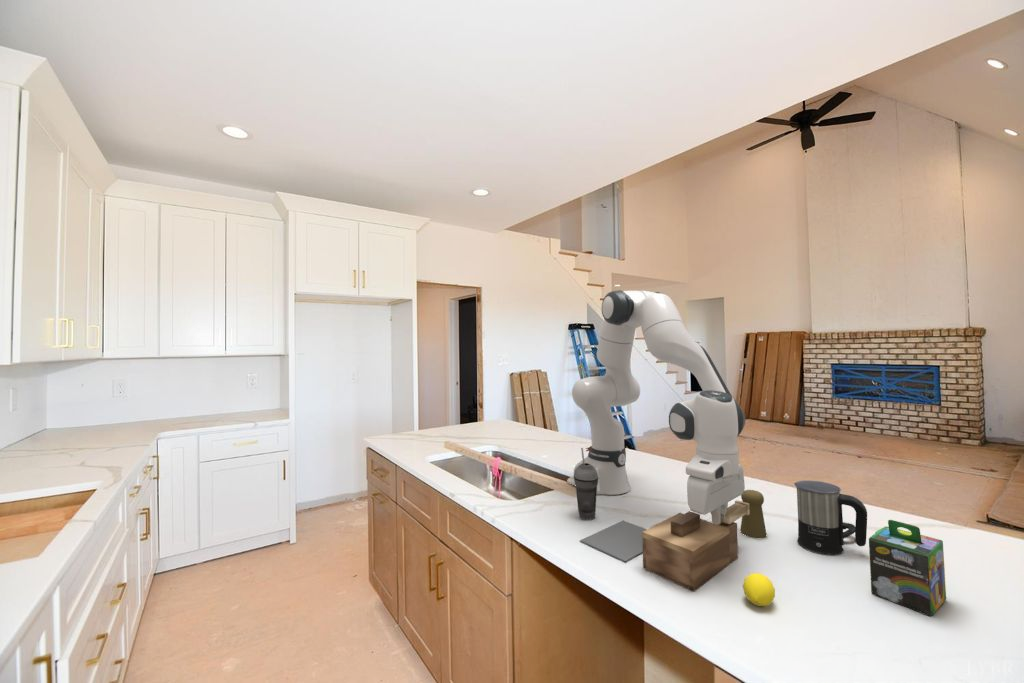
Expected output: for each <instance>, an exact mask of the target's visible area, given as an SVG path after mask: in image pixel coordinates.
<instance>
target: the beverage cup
mask: <svg viewBox="0 0 1024 683" xmlns="http://www.w3.org/2000/svg"><path fill="white" fill-rule="evenodd" d="M580 450H581V458H582V460H583V464H580V465H579V466H578V467H577V468H576V470H575V472H574V471H573V476H574V477H573V478H574V481H575V485H576V487H575V493H576V500H577V508H578V509H577V511H578V517H579V519H581V520H583V521H591V520H595V518H596V512H597V511H596V510H597V509H596V507H597V496H598V494H597V485H598V479H599V478H598V473H597V471H596V469H595V468H594V466H592V465H591V464H588V463H585V461H584V459H585V454H584V447H581V448H580Z"/></svg>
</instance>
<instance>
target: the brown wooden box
mask: <svg viewBox="0 0 1024 683" xmlns="http://www.w3.org/2000/svg"><path fill="white" fill-rule="evenodd" d="M719 525H721V526H724V527H727V528H729V534H728V535H726V536H725V537H723V538H722V539H720V540H719V541H717V542H716V543H714V544H713V545H711V546H710V547H708V548H707V549H705V550H704V551H702V552H701V553H699V554H698V555H696V556H694V557H691V556H689V555H686V554H684V553H681V552H679V551H676V550H674V549H671V548H669V547H666V546H663V545H661V544H658V543H656V542H653V541H651V540H648V539H646V538H643V537H642V543H643V553H642V569H644V570H646V571H648V572H650V573H652V574H655V575H657V576H660V577H661V578H663V579H666V580H668V581H670V582H672V583H675V584H677V585H679V586H682V587H683V588H685V589H688V590H690V591H693V592H696V591H697V590H699V589H700V588H701V587H703V585H705V584H706V583H707V582H709V581H710V580H711V579H713V578H714V577H715V576H717V575H718V574H720V573H721V572H722V571H723V570H724V569H726V568H727V567H728V566H730V565H731V564H732V563H734V562H735V561H737V559H738V558H739V551H738V550H739V548H738V547H739V546H738V544H739V542H738V540H739V539H738V538H739V537H738V522H736V521H734V522H733V523H731V524H726V523H723V522H722V523H721V524H719Z"/></svg>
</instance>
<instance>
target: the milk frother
mask: <svg viewBox="0 0 1024 683" xmlns="http://www.w3.org/2000/svg"><path fill="white" fill-rule="evenodd" d="M794 486H795V489H796V502H797V524H798V527H797V528H798V529H797V532H798V533H797V535H798V536H797V540H796V542H797V544H798V545H799V546H800V547H801V546H802V549H805V550H807V551H810V552H812V553H816V554H820V555H826V556H837V555H841V554H842V553H844V547H843V546H844V544H845V543H844V539H846V538H848V537H850V536H852V535H854V542H855V544H856V545H857V546H858V547H864V546H866V543H867V534H868V532H867V529H868V510H867V507H866V506H865V505H864V503H863V501H861V500H860V499H859V498H857V497H855V496H853V495H849V494H843V493H841V491H842V488H841V487H840V486H838V485H835V484H832V483H830V482H825V481H820V480H808V479H807V480H798V481H796V482H794ZM843 505H844V506H849V507H851V508H853V509H854V511H855V524H852V523H849V522H844V518H843ZM844 530H845V531H844Z"/></svg>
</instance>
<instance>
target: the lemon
mask: <svg viewBox="0 0 1024 683" xmlns="http://www.w3.org/2000/svg"><path fill="white" fill-rule="evenodd" d="M742 588H743V593H744V595H745V597H746V598H747V600H748V601H749V602H751V603H752V604H753V605H756V606H758V607H768V606H769V605H770V604H772V602H773V601H774V599H775V597H776V589H775V587H774V584H773V582H772V580H771V579H770V578H769V577H768V576H766V575H764V574H762V573H759V572H758V573H757V572H754V573H751V574H748V575H747V576H745V578H744V580H743V584H742Z"/></svg>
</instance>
